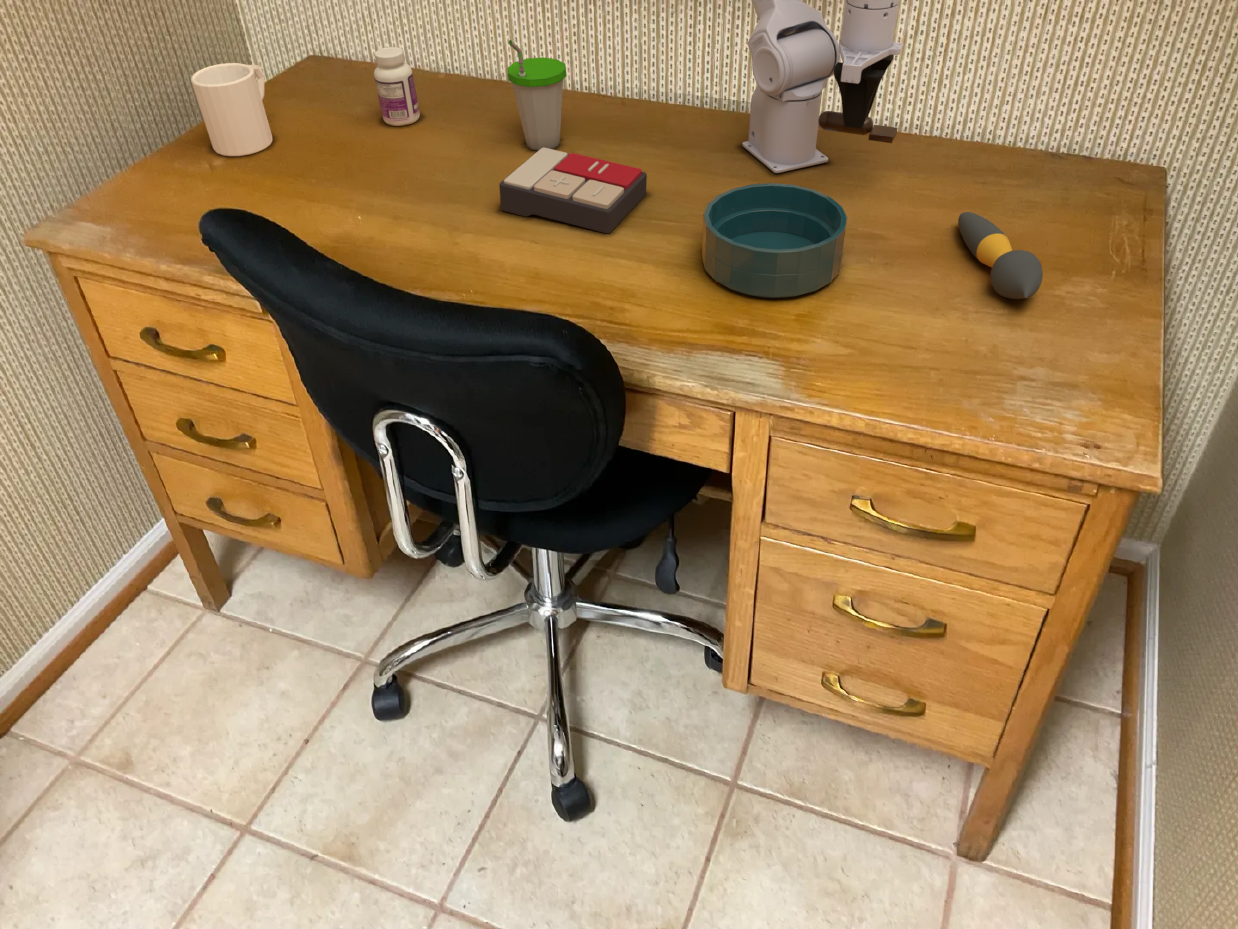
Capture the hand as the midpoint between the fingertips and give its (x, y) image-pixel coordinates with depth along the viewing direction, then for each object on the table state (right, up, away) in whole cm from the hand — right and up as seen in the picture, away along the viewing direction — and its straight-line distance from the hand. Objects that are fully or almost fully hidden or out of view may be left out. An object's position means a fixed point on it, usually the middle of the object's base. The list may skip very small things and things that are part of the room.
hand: (855, 121), depth 116 cm
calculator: (-34, -9, +5) cm, 35 cm away
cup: (-39, +3, +18) cm, 43 cm away
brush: (0, -1, +1) cm, 1 cm away
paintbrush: (+12, -20, -9) cm, 25 cm away
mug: (-81, +5, +22) cm, 84 cm away
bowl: (-11, -19, -7) cm, 23 cm away
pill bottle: (-60, +9, +26) cm, 66 cm away
